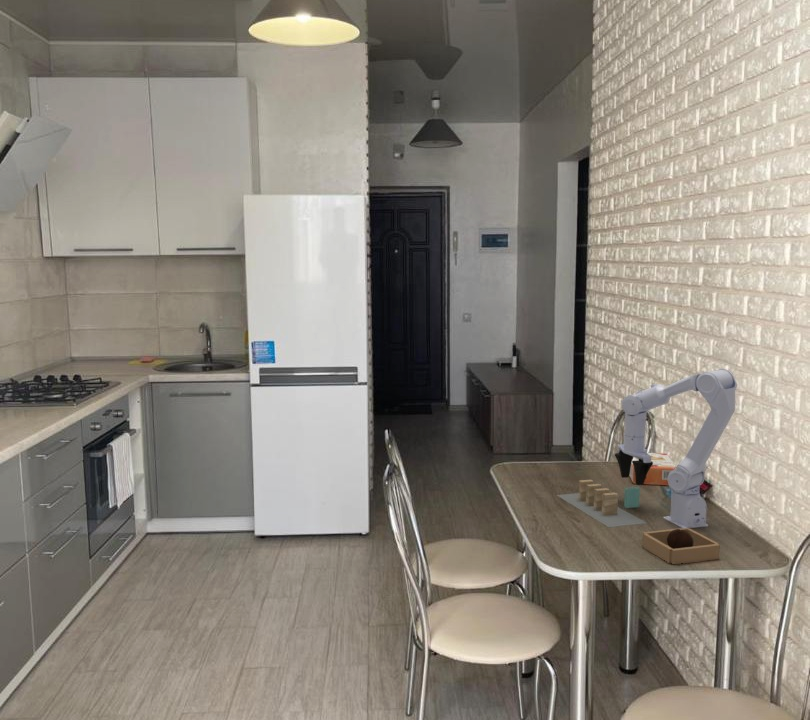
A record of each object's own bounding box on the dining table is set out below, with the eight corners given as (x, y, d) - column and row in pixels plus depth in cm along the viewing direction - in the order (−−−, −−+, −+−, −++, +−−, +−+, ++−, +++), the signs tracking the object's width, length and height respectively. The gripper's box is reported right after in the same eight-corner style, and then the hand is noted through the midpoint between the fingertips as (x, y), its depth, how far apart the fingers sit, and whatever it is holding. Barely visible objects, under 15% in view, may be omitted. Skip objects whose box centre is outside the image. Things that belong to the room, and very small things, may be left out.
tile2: (617, 514, 224) (618, 494, 223) (604, 515, 222) (605, 495, 222) (614, 512, 225) (615, 492, 224) (601, 514, 224) (602, 493, 223)
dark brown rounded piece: (696, 550, 198) (697, 522, 197) (691, 560, 191) (693, 531, 190) (663, 544, 202) (664, 517, 201) (657, 555, 195) (659, 526, 194)
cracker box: (633, 466, 254) (624, 451, 275) (632, 484, 255) (624, 467, 275) (678, 467, 252) (666, 452, 273) (677, 486, 253) (665, 469, 273)
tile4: (600, 504, 232) (601, 485, 231) (588, 506, 231) (589, 486, 230) (597, 503, 234) (598, 483, 233) (585, 504, 233) (586, 484, 232)
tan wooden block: (608, 509, 228) (609, 489, 227) (596, 510, 227) (597, 490, 226) (605, 508, 229) (606, 488, 229) (593, 509, 228) (594, 489, 228)
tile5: (592, 500, 236) (593, 481, 236) (580, 501, 235) (581, 482, 235) (590, 498, 238) (590, 479, 237) (578, 500, 237) (578, 480, 236)
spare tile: (638, 508, 231) (639, 488, 230) (626, 509, 230) (627, 489, 229) (635, 506, 232) (636, 486, 232) (623, 507, 231) (624, 487, 230)
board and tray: (720, 558, 192) (721, 544, 192) (667, 565, 188) (668, 551, 188) (599, 492, 246) (600, 481, 245) (556, 496, 242) (556, 485, 241)
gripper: (661, 440, 222) (659, 486, 224) (632, 429, 236) (630, 473, 238) (639, 441, 220) (637, 488, 222) (611, 430, 234) (609, 474, 236)
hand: (632, 480), depth 230 cm, fingers open, 7 cm apart
